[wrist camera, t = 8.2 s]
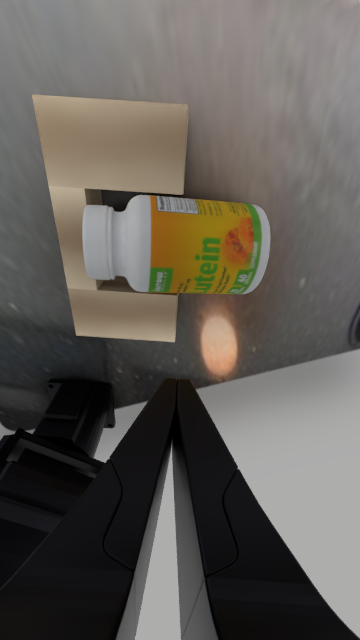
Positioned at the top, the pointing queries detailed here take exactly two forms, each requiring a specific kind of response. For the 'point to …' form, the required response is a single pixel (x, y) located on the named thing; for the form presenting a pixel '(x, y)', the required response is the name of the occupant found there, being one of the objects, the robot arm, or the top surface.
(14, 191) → the top surface
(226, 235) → the supplement bottle
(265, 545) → the robot arm
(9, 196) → the top surface
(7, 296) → the top surface
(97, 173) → the beige c-shaped block
